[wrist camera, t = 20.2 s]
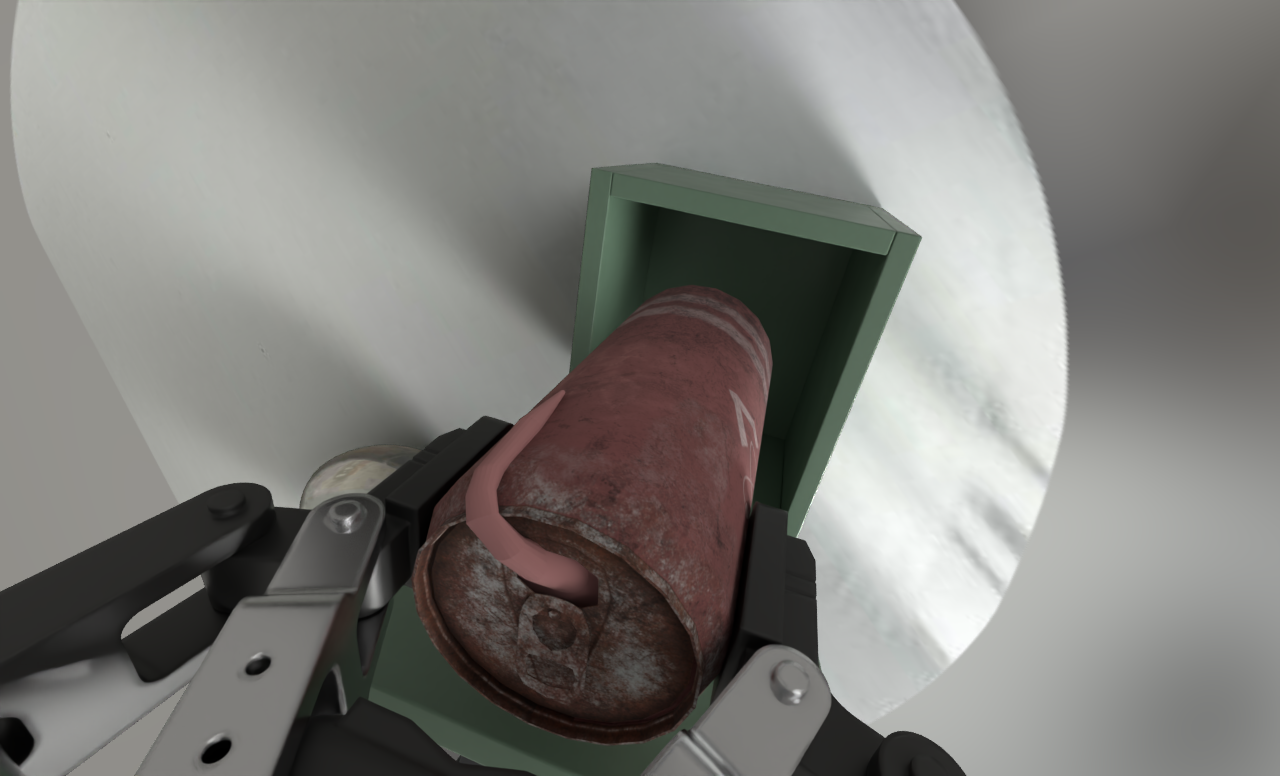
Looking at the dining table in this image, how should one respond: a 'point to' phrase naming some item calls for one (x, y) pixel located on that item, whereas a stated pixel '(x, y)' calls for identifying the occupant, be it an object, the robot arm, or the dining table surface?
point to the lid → (488, 712)
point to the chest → (753, 293)
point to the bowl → (354, 472)
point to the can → (608, 529)
